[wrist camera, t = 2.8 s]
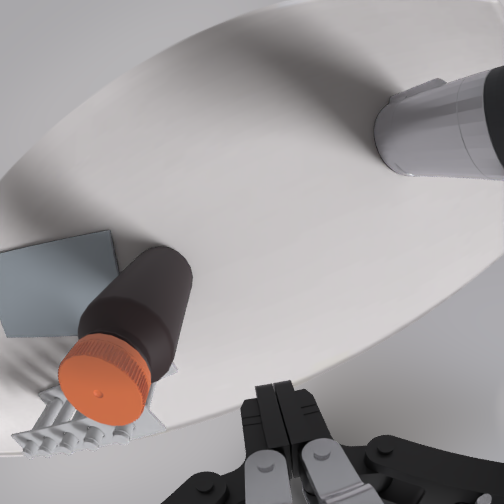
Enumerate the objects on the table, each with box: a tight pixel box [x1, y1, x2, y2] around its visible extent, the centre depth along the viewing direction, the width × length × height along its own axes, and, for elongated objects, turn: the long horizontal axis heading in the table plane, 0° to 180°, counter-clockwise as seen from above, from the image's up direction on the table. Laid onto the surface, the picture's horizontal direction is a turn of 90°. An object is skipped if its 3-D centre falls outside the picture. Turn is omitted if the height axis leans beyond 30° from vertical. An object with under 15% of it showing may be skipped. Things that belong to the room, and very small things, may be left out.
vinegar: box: [58, 247, 193, 426], centre depth 22 cm, size 7×7×20 cm
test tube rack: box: [11, 362, 178, 459], centre depth 28 cm, size 25×4×13 cm, turn 116°
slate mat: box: [0, 230, 119, 337], centre depth 30 cm, size 22×12×1 cm, turn 97°
